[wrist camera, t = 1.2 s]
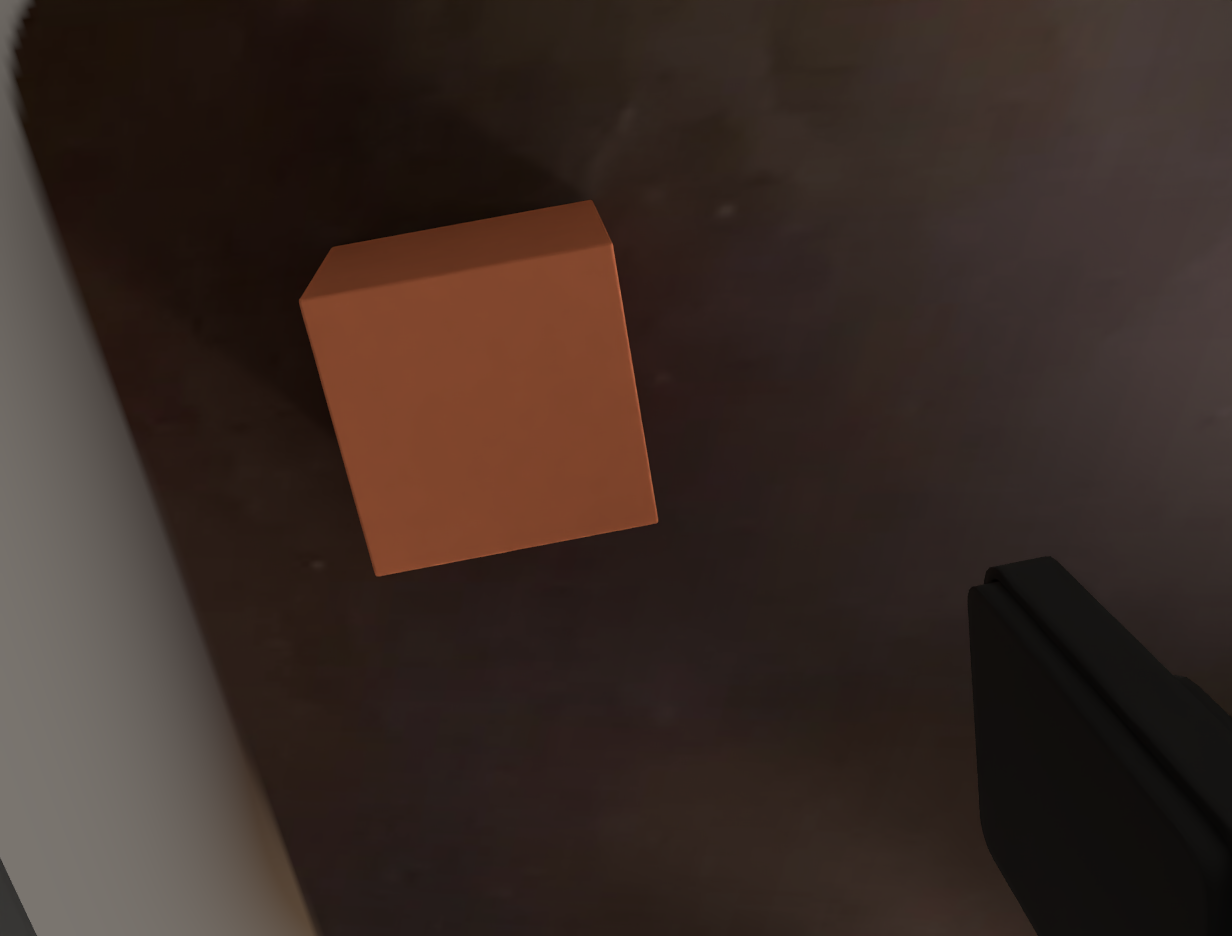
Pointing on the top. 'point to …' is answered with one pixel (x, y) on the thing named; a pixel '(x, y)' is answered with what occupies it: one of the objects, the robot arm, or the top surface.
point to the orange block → (481, 386)
